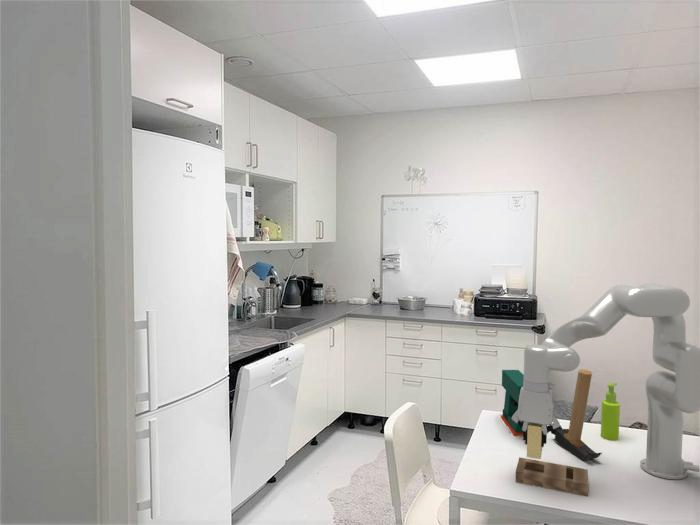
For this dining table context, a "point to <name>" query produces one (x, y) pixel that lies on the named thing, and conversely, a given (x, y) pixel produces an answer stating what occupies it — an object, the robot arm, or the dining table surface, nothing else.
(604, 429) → the soap dispenser
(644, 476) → the dining table surface
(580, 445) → the hammer
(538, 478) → the block
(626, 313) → the robot arm
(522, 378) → the power tool
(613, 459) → the dining table surface
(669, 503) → the dining table surface
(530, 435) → the square bit
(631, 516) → the dining table surface
